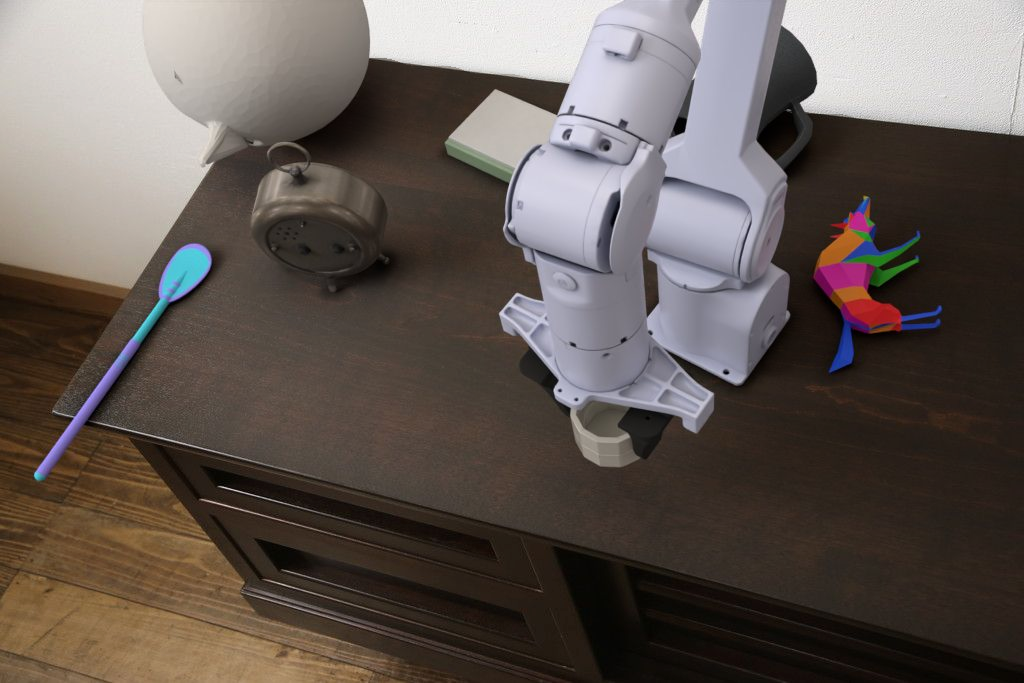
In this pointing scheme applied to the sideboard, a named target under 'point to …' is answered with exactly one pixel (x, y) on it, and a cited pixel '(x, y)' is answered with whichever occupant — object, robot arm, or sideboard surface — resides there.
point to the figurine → (862, 281)
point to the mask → (257, 65)
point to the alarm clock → (318, 219)
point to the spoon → (137, 338)
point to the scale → (500, 134)
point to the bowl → (603, 434)
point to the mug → (779, 93)
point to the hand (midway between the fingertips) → (612, 426)
